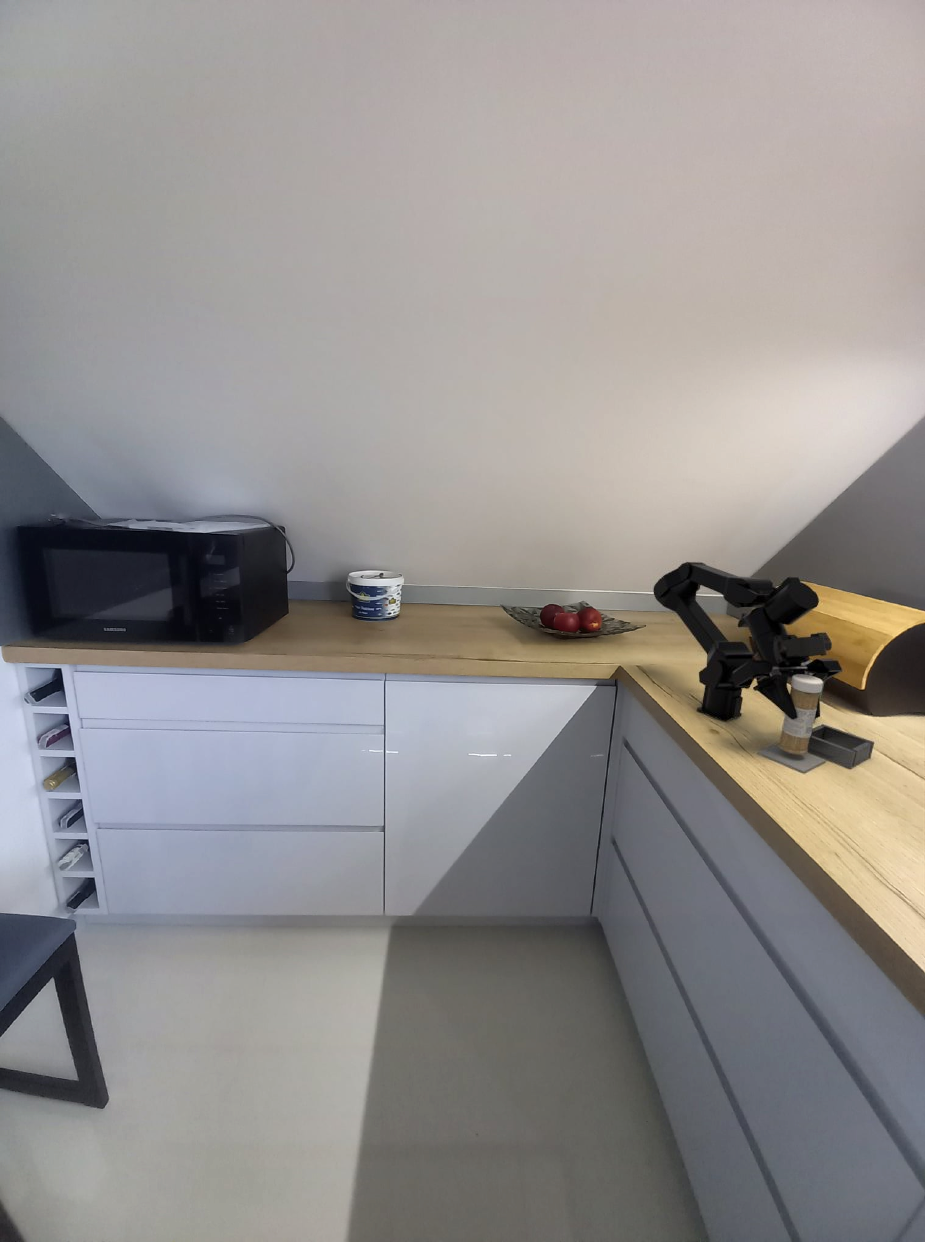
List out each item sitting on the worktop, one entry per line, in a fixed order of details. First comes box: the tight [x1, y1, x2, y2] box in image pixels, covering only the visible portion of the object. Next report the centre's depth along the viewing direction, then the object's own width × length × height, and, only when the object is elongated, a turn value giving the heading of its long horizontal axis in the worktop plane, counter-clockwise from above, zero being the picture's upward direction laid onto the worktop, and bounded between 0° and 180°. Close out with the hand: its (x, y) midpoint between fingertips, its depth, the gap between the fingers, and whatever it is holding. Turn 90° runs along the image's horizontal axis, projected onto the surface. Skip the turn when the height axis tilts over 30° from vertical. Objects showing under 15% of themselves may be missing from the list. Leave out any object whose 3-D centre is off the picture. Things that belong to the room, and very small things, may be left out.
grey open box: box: [807, 723, 875, 770], centre depth 102 cm, size 9×9×3 cm
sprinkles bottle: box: [778, 674, 824, 755], centre depth 98 cm, size 5×5×13 cm
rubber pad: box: [756, 742, 827, 774], centre depth 100 cm, size 8×8×1 cm
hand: (806, 718), depth 97 cm, fingers closed on sprinkles bottle, 4 cm apart
